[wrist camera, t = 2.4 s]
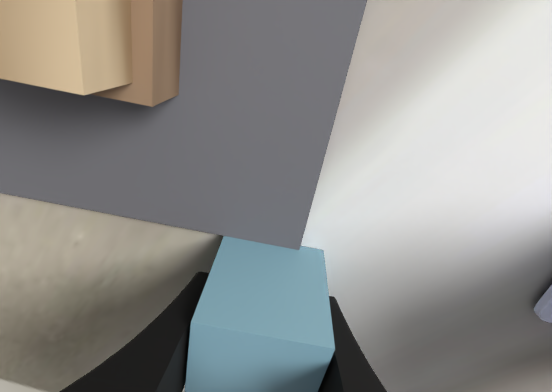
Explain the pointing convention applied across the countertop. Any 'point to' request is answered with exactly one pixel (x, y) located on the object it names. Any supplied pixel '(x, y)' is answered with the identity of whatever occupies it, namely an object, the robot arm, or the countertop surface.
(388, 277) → the countertop surface
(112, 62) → the tower mid
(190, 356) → the block
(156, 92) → the tower base
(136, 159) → the mat
